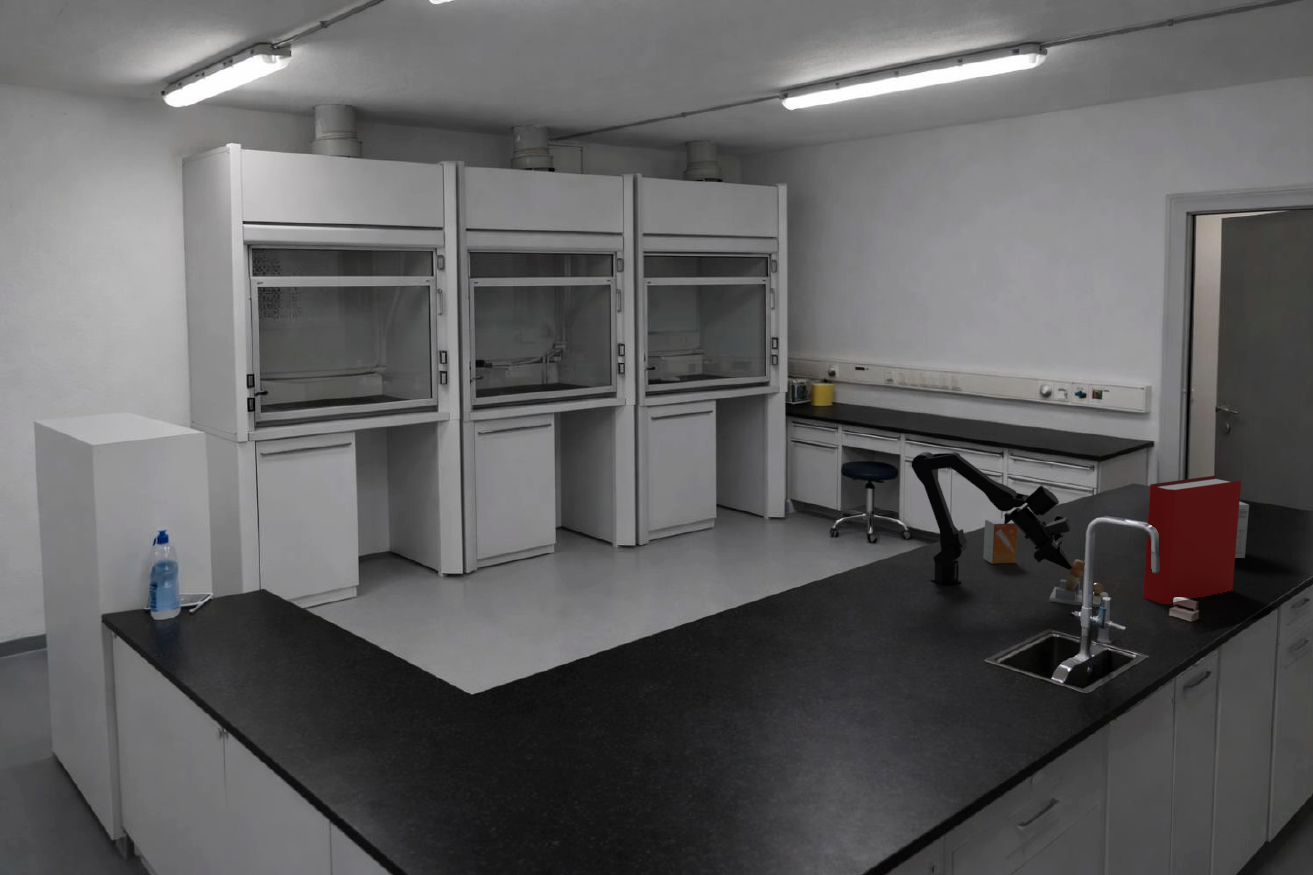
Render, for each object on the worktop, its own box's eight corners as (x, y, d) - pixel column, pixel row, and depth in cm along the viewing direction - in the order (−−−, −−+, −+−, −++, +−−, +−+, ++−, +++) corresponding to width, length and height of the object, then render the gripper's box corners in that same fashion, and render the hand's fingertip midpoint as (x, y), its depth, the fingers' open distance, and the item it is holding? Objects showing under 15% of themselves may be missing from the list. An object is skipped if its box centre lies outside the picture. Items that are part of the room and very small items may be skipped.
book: (1206, 583, 292) (1215, 475, 287) (1232, 590, 285) (1241, 480, 280) (1139, 596, 281) (1146, 484, 276) (1164, 604, 274) (1172, 490, 269)
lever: (1058, 592, 279) (1074, 562, 276) (1061, 586, 285) (1076, 556, 281) (1071, 598, 278) (1086, 567, 275) (1073, 592, 283) (1088, 561, 280)
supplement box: (1246, 559, 316) (1250, 504, 313) (1203, 559, 317) (1207, 505, 314) (1223, 547, 329) (1227, 495, 327) (1182, 548, 330) (1186, 495, 327)
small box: (992, 564, 314) (993, 523, 312) (982, 558, 321) (984, 519, 319) (1016, 563, 316) (1018, 522, 313) (1006, 557, 322) (1008, 517, 320)
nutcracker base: (1049, 601, 278) (1050, 582, 278) (1054, 590, 288) (1055, 572, 287) (1104, 608, 272) (1105, 589, 271) (1107, 597, 281) (1109, 578, 280)
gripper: (1048, 515, 271) (1090, 559, 268) (1057, 501, 288) (1097, 542, 284) (1016, 540, 276) (1057, 584, 273) (1027, 525, 293) (1066, 566, 289)
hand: (1070, 568), depth 280 cm, fingers closed, pressing on lever
